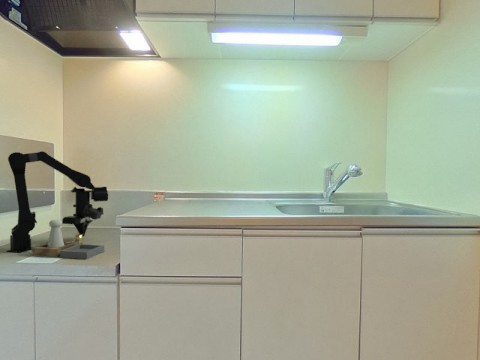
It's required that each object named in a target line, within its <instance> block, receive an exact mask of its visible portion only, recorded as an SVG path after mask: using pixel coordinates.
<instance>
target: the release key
mask: <svg viewBox="0 0 480 360" xmlns="http://www.w3.org/2000/svg"><path fill="white" fill-rule="evenodd" d="M83 239H84V238H83V234H79V233H75V234H74V240H72V241H71V242H77V243H78V244H84V240H83Z"/></svg>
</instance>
